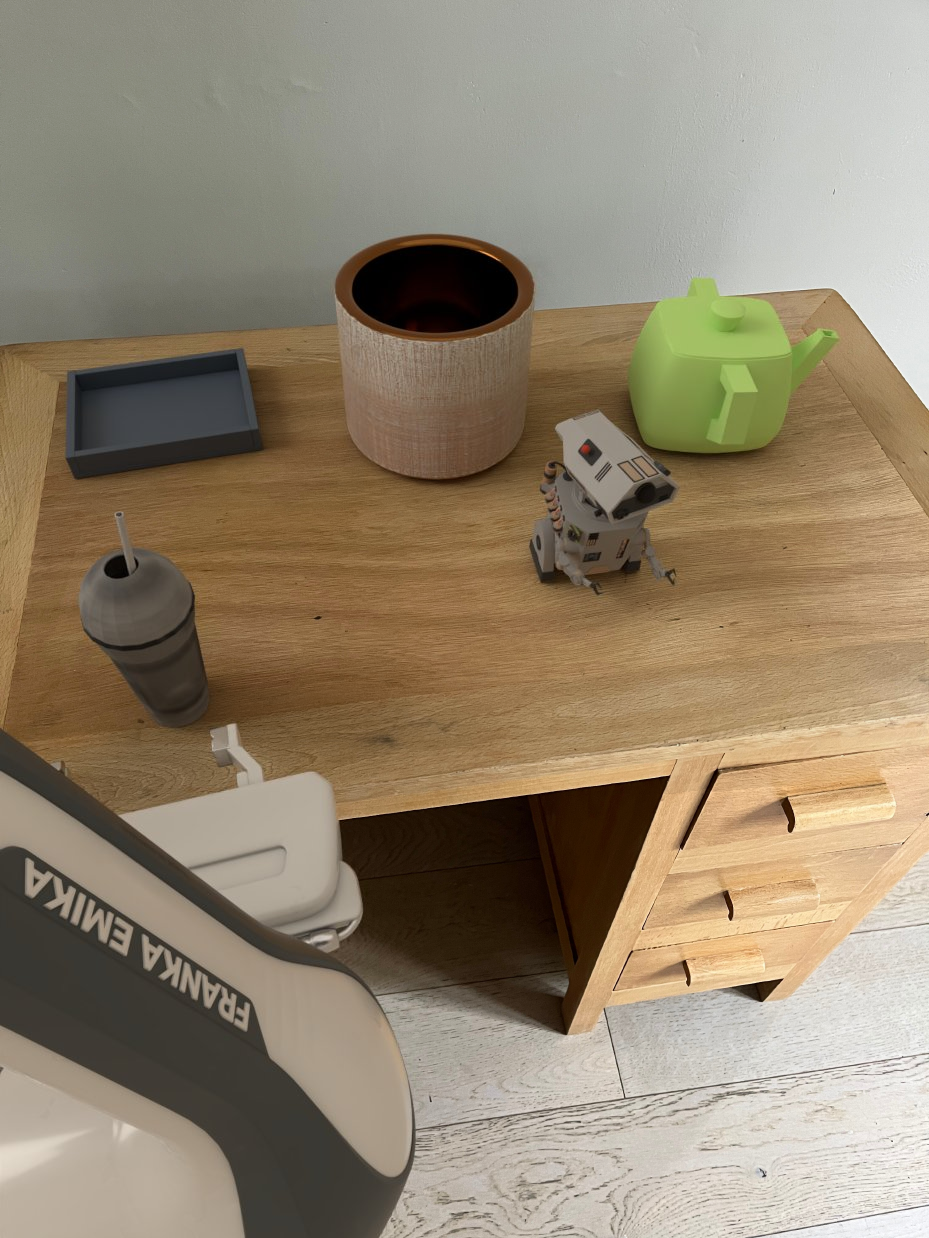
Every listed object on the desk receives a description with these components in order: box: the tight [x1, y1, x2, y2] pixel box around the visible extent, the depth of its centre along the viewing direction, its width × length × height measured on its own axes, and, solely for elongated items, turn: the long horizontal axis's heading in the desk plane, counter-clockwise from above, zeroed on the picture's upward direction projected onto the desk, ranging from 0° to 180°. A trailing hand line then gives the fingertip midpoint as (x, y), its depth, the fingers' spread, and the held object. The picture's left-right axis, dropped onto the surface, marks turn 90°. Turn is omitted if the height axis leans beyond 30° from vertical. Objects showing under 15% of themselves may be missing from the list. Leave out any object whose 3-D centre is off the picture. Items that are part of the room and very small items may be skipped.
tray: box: [65, 347, 264, 480], centre depth 85 cm, size 18×14×3 cm
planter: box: [333, 233, 536, 480], centre depth 80 cm, size 18×18×16 cm
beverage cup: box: [77, 510, 211, 729], centre depth 58 cm, size 7×7×20 cm
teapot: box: [627, 277, 840, 454], centre depth 83 cm, size 18×20×13 cm
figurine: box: [528, 408, 681, 596], centre depth 68 cm, size 9×12×15 cm
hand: (140, 748), depth 48 cm, fingers open, 8 cm apart
